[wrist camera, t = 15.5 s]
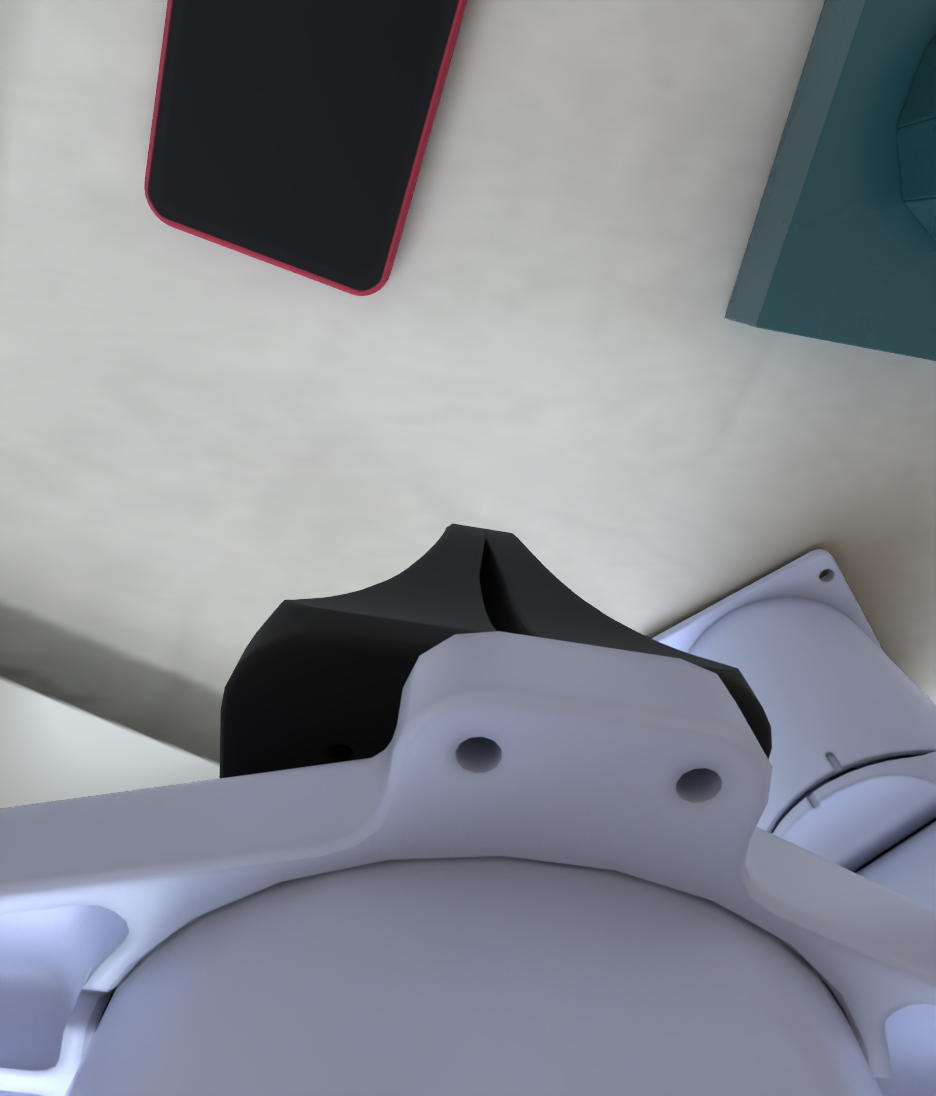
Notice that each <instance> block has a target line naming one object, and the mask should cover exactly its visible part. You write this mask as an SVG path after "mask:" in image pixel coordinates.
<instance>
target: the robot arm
mask: <svg viewBox="0 0 936 1096" xmlns="http://www.w3.org/2000/svg"><path fill="white" fill-rule="evenodd" d="M826 569H829V572H828V574H827V575H825V576H824V577H819V575H820V573H821V572H822V571H823V570H826ZM0 1096H936V705H935V704H934V703H933V701H932V700H931V699H930V698H929V697H928V696H927V695H926V694H925V693H924V692H923V691H922V690H921V689H920V688H919V687H918V686H917V685H916V684H915V683H914V682H913V681H912V680H911V679H910V678H909V677H908V676H907V675H906V674H905V673H904V672H903V671H902V670H901V669H900V668H899V667H898V666H897V665H896V664H895V663H894V662H893V661H892V660H891V659H890V658H889V657H888V656H887V655H886V654H885V653H884V651H883V649H882V648H881V646H880V644H879V642H878V640H877V638H876V636H875V634H874V633H873V631H872V629H871V627H870V625H869V623H868V621H867V619H866V617H865V616H864V614H863V612H862V610H861V608H860V606H859V604H858V602H857V601H856V599H855V597H854V595H853V593H852V591H851V589H850V587H849V586H848V584H847V582H846V580H845V578H844V576H843V574H842V572H841V570H840V569H839V567H838V565H837V563H836V561H835V559H834V558H833V556H832V555H831V554H830V553H828V552H827V551H825V550H823V549H816V550H813V551H811V552H809V553H807V554H805V555H803V556H802V557H800V558H798V559H796V560H794V561H792V562H791V563H789V564H787V565H785V566H783V567H781V568H780V569H778V570H776V571H774V572H772V573H770V574H768V575H767V576H765V577H763V578H761V579H759V580H757V581H756V582H754V583H752V584H750V585H748V586H746V587H745V588H743V589H741V590H739V591H737V592H735V593H734V594H732V595H730V596H728V597H726V598H724V599H723V600H721V601H719V602H717V603H715V604H713V605H712V606H710V607H708V608H706V609H704V610H702V611H701V612H699V613H697V614H695V615H693V616H691V617H690V618H688V619H686V620H684V621H682V622H680V623H679V624H677V625H675V626H673V627H671V628H669V629H668V630H666V631H664V632H662V633H660V634H658V635H657V636H655V637H653V638H649V637H647V636H644V635H642V634H640V633H638V632H636V631H634V630H632V629H630V628H628V627H627V626H625V625H623V624H621V623H619V622H617V621H615V620H614V619H612V618H610V617H608V616H607V615H605V614H603V613H602V612H600V611H599V610H597V609H596V608H595V607H593V606H592V605H590V604H589V603H587V602H586V601H584V600H583V599H581V598H580V597H579V596H578V595H576V594H575V593H574V592H572V591H571V590H570V589H569V588H568V587H567V586H565V585H564V584H563V583H562V582H561V581H560V580H558V579H557V578H556V577H555V576H554V575H553V574H552V573H551V572H550V571H549V570H548V569H547V568H546V567H545V566H544V565H543V564H542V563H541V562H540V561H539V560H538V559H537V558H536V557H535V556H534V555H533V554H532V553H531V552H530V551H529V550H528V549H527V547H526V546H525V545H524V544H523V543H522V542H521V541H520V540H519V539H518V538H517V537H516V536H515V535H514V534H512V533H508V532H501V531H495V530H489V529H483V528H476V527H470V526H464V525H458V524H451V525H450V526H448V527H447V528H446V530H445V532H444V533H443V535H442V536H441V538H440V539H439V540H438V541H437V542H436V543H435V545H434V546H433V547H432V548H431V549H430V550H429V551H428V552H427V553H426V554H425V555H423V556H422V557H421V558H420V559H419V560H417V561H416V562H415V563H414V564H412V565H411V566H410V567H409V568H407V569H406V570H404V571H403V572H401V573H400V574H398V575H396V576H395V577H393V578H391V579H389V580H387V581H384V582H381V583H379V584H376V585H373V586H371V587H368V588H365V589H363V590H359V591H356V592H352V593H348V594H343V595H337V596H332V597H325V598H313V599H298V600H284V601H283V602H282V603H281V604H280V605H279V607H278V608H277V609H276V610H275V611H274V612H273V614H272V615H271V616H270V617H269V618H268V619H267V621H266V622H265V623H264V624H263V625H262V627H261V628H260V629H259V630H258V632H257V633H256V634H255V635H254V637H253V638H252V640H251V641H250V643H249V644H248V646H247V647H246V649H245V651H244V653H243V654H242V656H241V658H240V660H239V662H238V664H237V666H236V667H235V669H234V671H233V673H232V675H231V677H230V679H229V681H228V682H227V684H226V686H225V690H224V695H223V700H222V706H221V728H220V779H213V780H206V781H198V782H191V783H184V784H177V785H169V786H162V787H154V788H147V789H140V790H132V791H125V792H118V793H111V794H104V795H96V796H88V797H82V798H74V799H67V800H60V801H52V802H45V803H37V804H30V805H23V806H15V807H8V808H1V809H0Z"/></svg>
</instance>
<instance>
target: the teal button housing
mask: <svg viewBox="0 0 936 1096" xmlns="http://www.w3.org/2000/svg"><path fill="white" fill-rule="evenodd" d="M725 318H726V319H729V320H733V321H736V322H740V323H743V324H747V325H750V326H754V327H757V328H762V329H768V330H773V331H778V332H784V333H789V334H794V335H800V336H805V337H811V338H816V339H821V340H827V341H832V342H837V343H843V344H848V345H853V346H859V347H864V348H869V349H875V350H880V351H885V352H891V353H896V354H901V355H907V356H912V357H917V358H923V359H928V360H933V361H936V0H825V3H824V6H823V9H822V12H821V16H820V19H819V22H818V25H817V28H816V31H815V35H814V38H813V41H812V44H811V47H810V50H809V53H808V57H807V60H806V63H805V66H804V69H803V72H802V76H801V79H800V82H799V85H798V88H797V91H796V94H795V98H794V101H793V104H792V107H791V110H790V113H789V117H788V120H787V123H786V126H785V129H784V132H783V135H782V139H781V142H780V145H779V148H778V151H777V154H776V158H775V161H774V164H773V167H772V170H771V173H770V176H769V180H768V183H767V186H766V189H765V192H764V195H763V199H762V202H761V205H760V208H759V211H758V214H757V218H756V221H755V224H754V227H753V230H752V233H751V236H750V240H749V243H748V246H747V249H746V252H745V255H744V259H743V262H742V265H741V268H740V271H739V274H738V277H737V281H736V284H735V287H734V290H733V293H732V296H731V300H730V303H729V306H728V309H727V312H726V315H725Z"/></svg>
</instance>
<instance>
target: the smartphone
mask: <svg viewBox="0 0 936 1096" xmlns="http://www.w3.org/2000/svg"><path fill="white" fill-rule="evenodd" d="M466 4H467V0H168V3H167V11H166V19H165V27H164V35H163V42H162V50H161V58H160V66H159V74H158V81H157V89H156V97H155V105H154V113H153V120H152V128H151V136H150V144H149V151H148V159H147V167H146V175H145V187H144V188H145V195H146V198H147V202H148V204H149V206H150V208H151V209H152V211H153V212H154V214H155V215H156V216H157V217H158V218H159V219H160V220H161V221H163V222H164V223H165V224H167V225H169V226H171V227H174V228H177V229H179V230H182V231H185V232H187V233H190V234H193V235H195V236H198V237H201V238H203V239H206V240H209V241H211V242H214V243H217V244H219V245H222V246H225V247H227V248H230V249H233V250H235V251H238V252H241V253H243V254H246V255H249V256H251V257H254V258H257V259H259V260H262V261H265V262H267V263H270V264H273V265H276V266H278V267H281V268H284V269H286V270H289V271H292V272H294V273H297V274H300V275H302V276H305V277H308V278H310V279H313V280H316V281H318V282H321V283H324V284H326V285H329V286H332V287H334V288H337V289H340V290H342V291H345V292H348V293H350V294H354V295H358V296H365V295H370V294H373V293H375V292H377V291H378V290H380V289H381V288H382V287H383V286H384V285H385V283H386V282H387V280H388V278H389V276H390V273H391V269H392V266H393V262H394V259H395V255H396V252H397V248H398V245H399V241H400V237H401V234H402V230H403V227H404V223H405V220H406V216H407V213H408V209H409V206H410V202H411V199H412V195H413V191H414V188H415V184H416V181H417V177H418V174H419V170H420V167H421V163H422V160H423V156H424V153H425V149H426V145H427V142H428V138H429V135H430V131H431V128H432V124H433V121H434V117H435V114H436V110H437V107H438V103H439V99H440V96H441V92H442V89H443V85H444V82H445V78H446V75H447V71H448V68H449V64H450V61H451V57H452V53H453V50H454V46H455V43H456V39H457V36H458V32H459V29H460V25H461V22H462V18H463V15H464V11H465V7H466Z"/></svg>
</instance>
